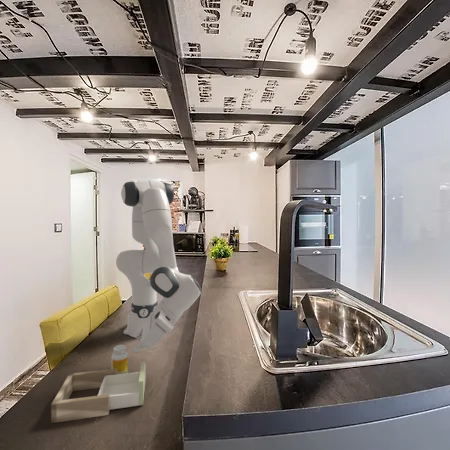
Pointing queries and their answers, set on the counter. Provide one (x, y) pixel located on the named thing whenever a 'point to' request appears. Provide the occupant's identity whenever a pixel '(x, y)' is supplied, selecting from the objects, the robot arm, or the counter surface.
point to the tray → (124, 388)
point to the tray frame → (81, 406)
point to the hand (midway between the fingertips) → (136, 344)
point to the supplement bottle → (120, 359)
